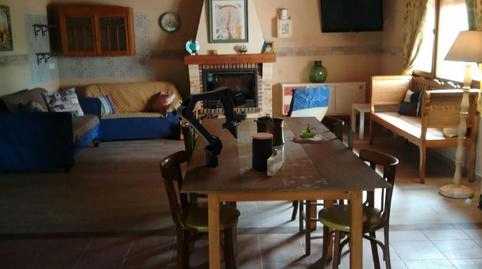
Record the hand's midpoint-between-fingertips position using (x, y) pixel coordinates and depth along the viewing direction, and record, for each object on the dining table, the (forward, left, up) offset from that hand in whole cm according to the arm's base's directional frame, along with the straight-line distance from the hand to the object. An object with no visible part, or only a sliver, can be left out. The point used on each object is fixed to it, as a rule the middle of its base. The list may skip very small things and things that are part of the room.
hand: (236, 138), depth 248 cm
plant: (+27, +66, -14) cm, 72 cm away
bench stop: (+22, -5, -14) cm, 27 cm away
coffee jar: (+16, -6, -14) cm, 22 cm away
